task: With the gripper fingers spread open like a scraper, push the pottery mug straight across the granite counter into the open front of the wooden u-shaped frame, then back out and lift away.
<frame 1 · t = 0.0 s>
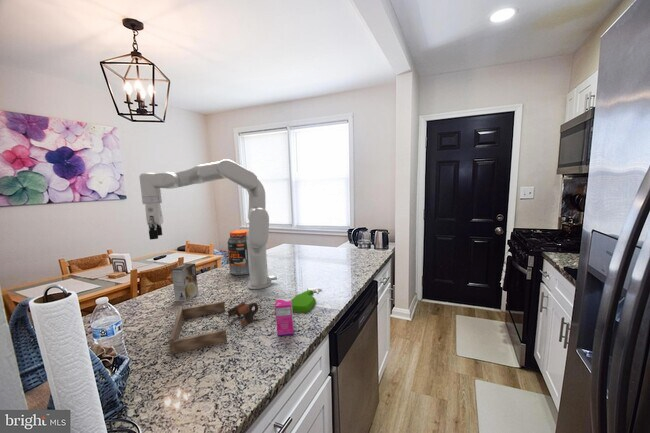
hand: (156, 237, 125), 31 cm above the countertop, tool pointing down, fingers open, 9 cm apart
spray bottle: (306, 301, 125), on the countertop
coffee box: (187, 297, 133), on the countertop
supplement tub: (243, 271, 170), on the countertop
pottery mug: (244, 320, 108), on the countertop
supplement box: (285, 332, 98), on the countertop
wooden u-shaped frame: (197, 329, 102), on the countertop
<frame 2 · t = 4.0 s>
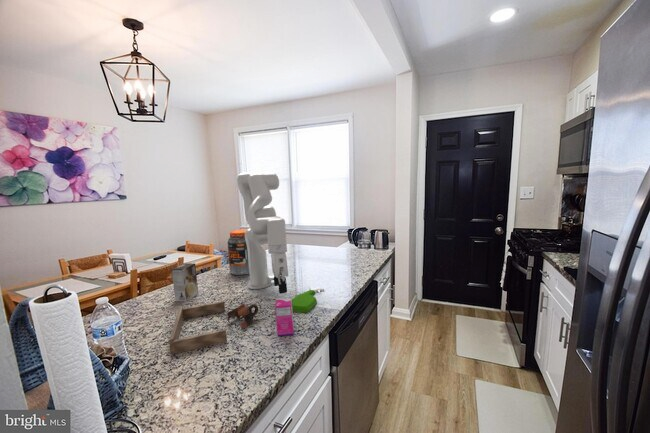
hand: (280, 289, 112), 10 cm above the countertop, tool pointing down, fingers open, 9 cm apart
pottery mug: (244, 322, 107), on the countertop
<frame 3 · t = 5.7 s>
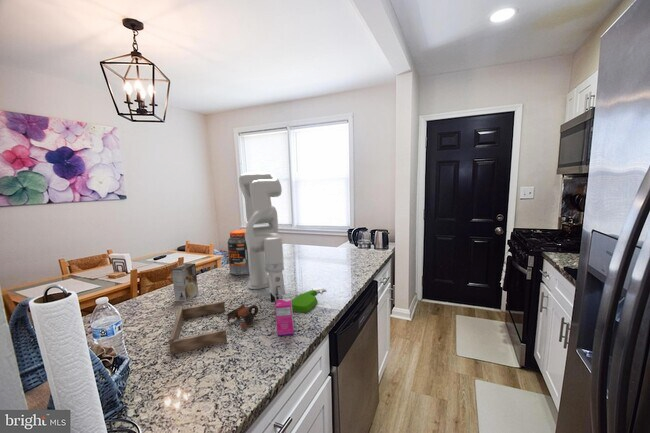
hand: (277, 306, 113), 3 cm above the countertop, tool pointing down, fingers open, 9 cm apart
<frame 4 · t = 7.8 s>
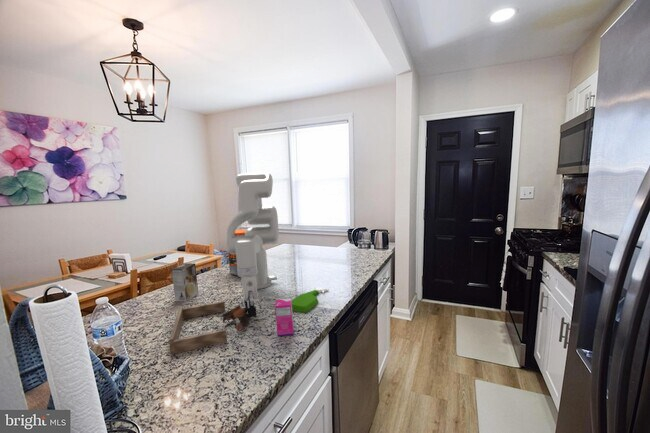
hand: (250, 311, 109), 3 cm above the countertop, tool pointing down, fingers open, 9 cm apart
pottery mug: (239, 324, 105), on the countertop
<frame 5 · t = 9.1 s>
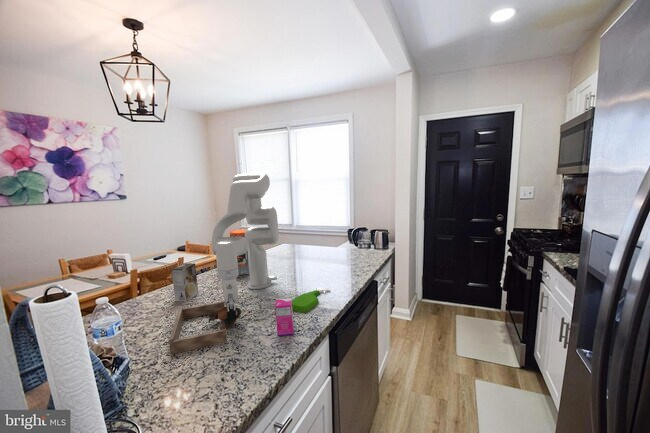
hand: (231, 315, 106), 3 cm above the countertop, tool pointing down, fingers open, 9 cm apart
pottery mug: (226, 325, 105), on the countertop, touching gripper
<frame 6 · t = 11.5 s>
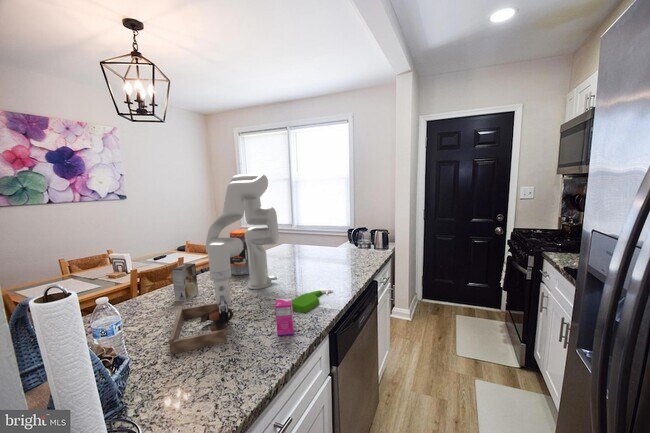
hand: (224, 316, 105), 3 cm above the countertop, tool pointing down, fingers open, 9 cm apart
pottery mug: (218, 327, 104), on the countertop
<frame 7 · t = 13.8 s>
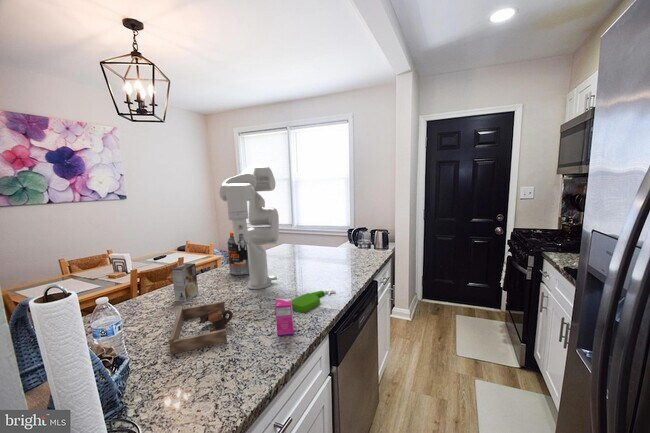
hand: (241, 256, 111), 24 cm above the countertop, tool pointing down, fingers open, 9 cm apart
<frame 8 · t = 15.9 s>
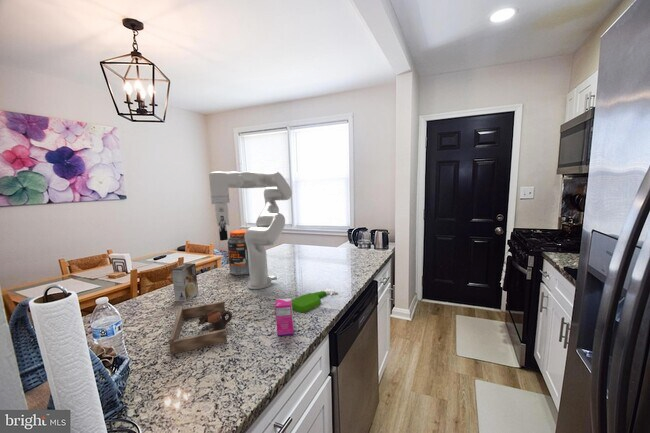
hand: (223, 238, 121), 30 cm above the countertop, tool pointing down, fingers open, 9 cm apart
at the end: pottery mug inside the target area on the wooden u-shaped frame (5.2 cm from its centre), point 0.0 cm above the wooden u-shaped frame's base; pottery mug tilted 0°; pottery mug moved 10.7 cm from its start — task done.
